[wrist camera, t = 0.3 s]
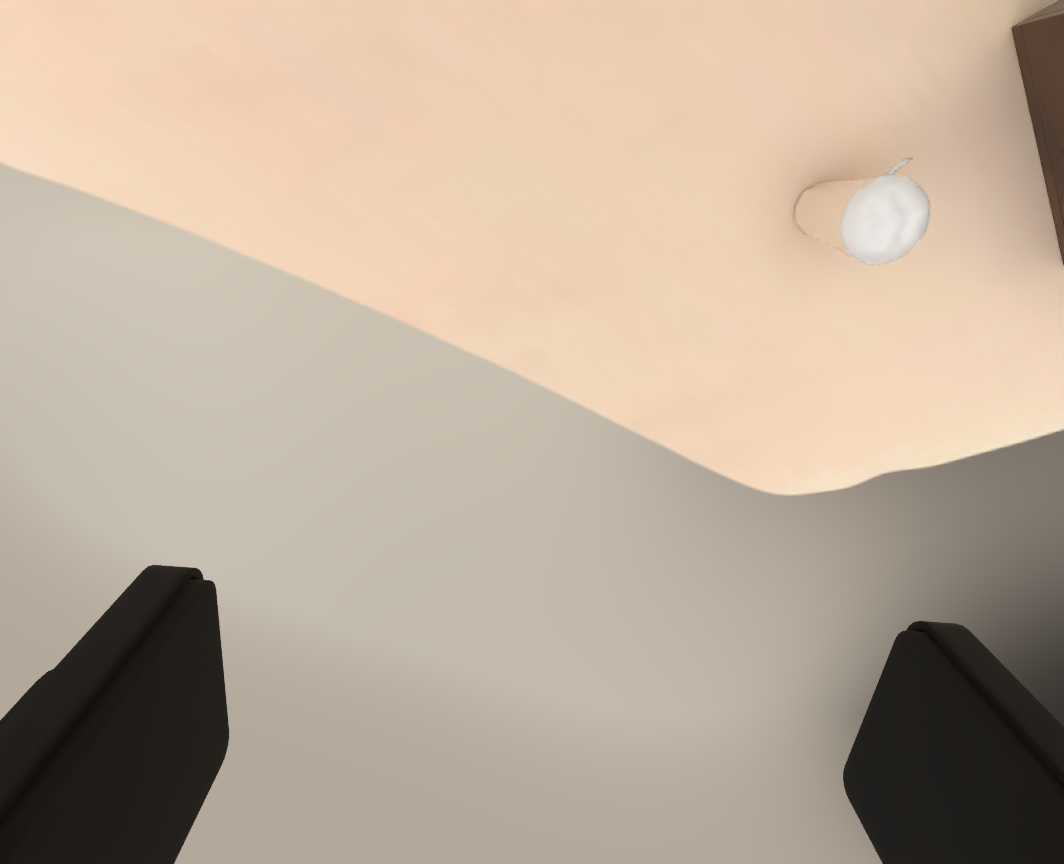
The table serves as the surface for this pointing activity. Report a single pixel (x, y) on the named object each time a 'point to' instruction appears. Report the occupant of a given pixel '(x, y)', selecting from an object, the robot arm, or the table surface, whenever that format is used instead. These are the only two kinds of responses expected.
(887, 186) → the milkshake
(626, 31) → the table surface
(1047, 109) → the chest
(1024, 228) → the table surface
